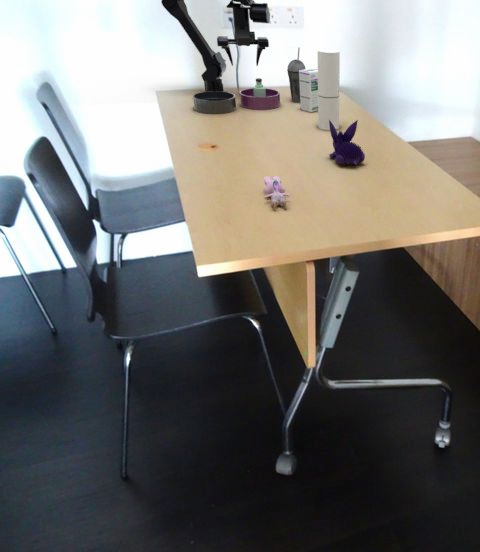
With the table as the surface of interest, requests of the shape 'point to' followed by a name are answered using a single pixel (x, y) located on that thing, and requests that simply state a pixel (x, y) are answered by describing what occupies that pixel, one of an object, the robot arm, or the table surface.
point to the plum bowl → (259, 100)
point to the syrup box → (309, 89)
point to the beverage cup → (295, 78)
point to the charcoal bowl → (214, 102)
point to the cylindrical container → (328, 88)
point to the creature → (346, 146)
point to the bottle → (259, 89)
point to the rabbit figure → (275, 191)
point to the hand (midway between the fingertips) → (244, 65)
